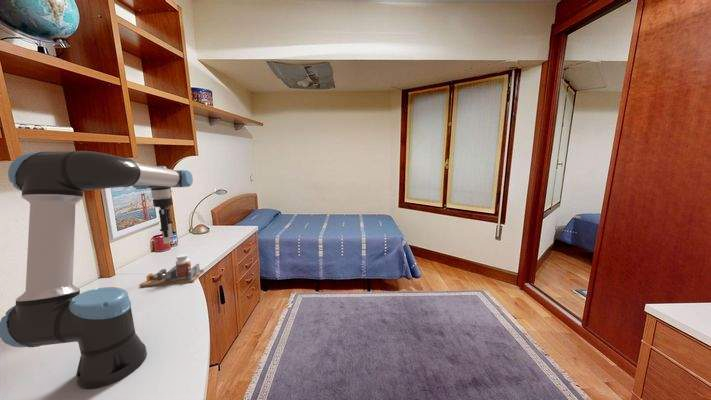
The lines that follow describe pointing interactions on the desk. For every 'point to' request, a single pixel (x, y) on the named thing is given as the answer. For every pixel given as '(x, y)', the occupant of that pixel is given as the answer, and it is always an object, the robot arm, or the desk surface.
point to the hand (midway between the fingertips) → (168, 239)
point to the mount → (173, 277)
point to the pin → (153, 276)
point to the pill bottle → (183, 265)
